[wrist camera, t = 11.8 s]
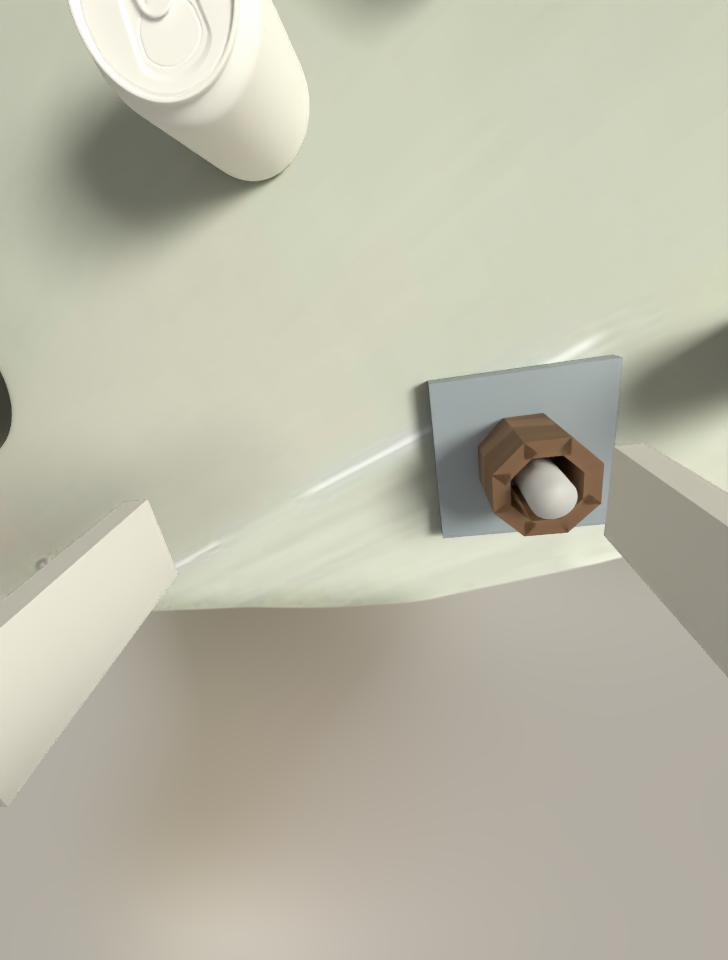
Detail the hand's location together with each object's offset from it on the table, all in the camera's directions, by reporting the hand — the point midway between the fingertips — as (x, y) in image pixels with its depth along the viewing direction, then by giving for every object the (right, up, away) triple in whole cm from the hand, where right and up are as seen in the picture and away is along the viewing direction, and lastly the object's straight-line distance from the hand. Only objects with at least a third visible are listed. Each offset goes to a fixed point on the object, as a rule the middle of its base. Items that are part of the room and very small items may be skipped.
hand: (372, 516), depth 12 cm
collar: (+13, +3, +22) cm, 26 cm away
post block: (+13, +4, +23) cm, 27 cm away
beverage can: (-8, +26, +16) cm, 31 cm away
